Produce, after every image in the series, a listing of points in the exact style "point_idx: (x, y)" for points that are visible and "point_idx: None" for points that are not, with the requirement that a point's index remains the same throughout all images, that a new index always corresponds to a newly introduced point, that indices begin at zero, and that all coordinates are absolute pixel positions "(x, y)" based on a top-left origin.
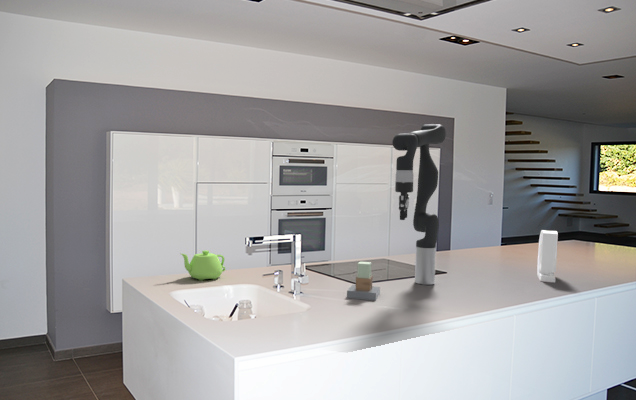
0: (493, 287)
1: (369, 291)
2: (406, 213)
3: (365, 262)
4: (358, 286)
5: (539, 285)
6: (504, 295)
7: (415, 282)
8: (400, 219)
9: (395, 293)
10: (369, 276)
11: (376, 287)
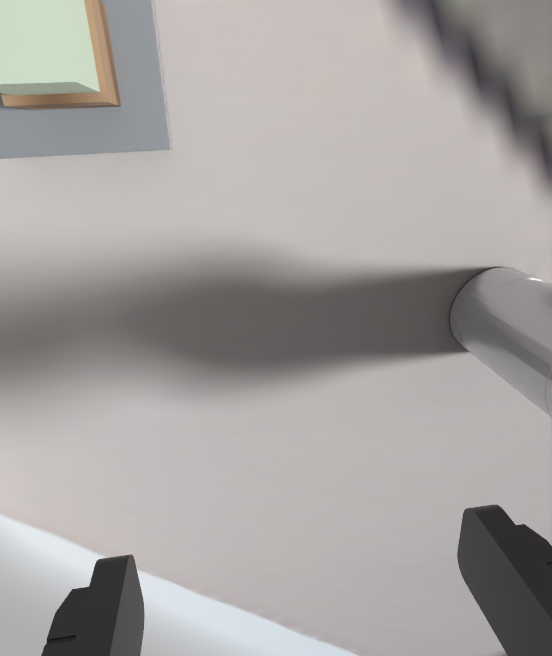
0: None
1: (18, 111)
2: (502, 633)
3: (31, 25)
4: None
5: None
6: (360, 572)
7: (478, 274)
8: (99, 566)
9: (222, 224)
10: (21, 94)
11: (146, 130)
